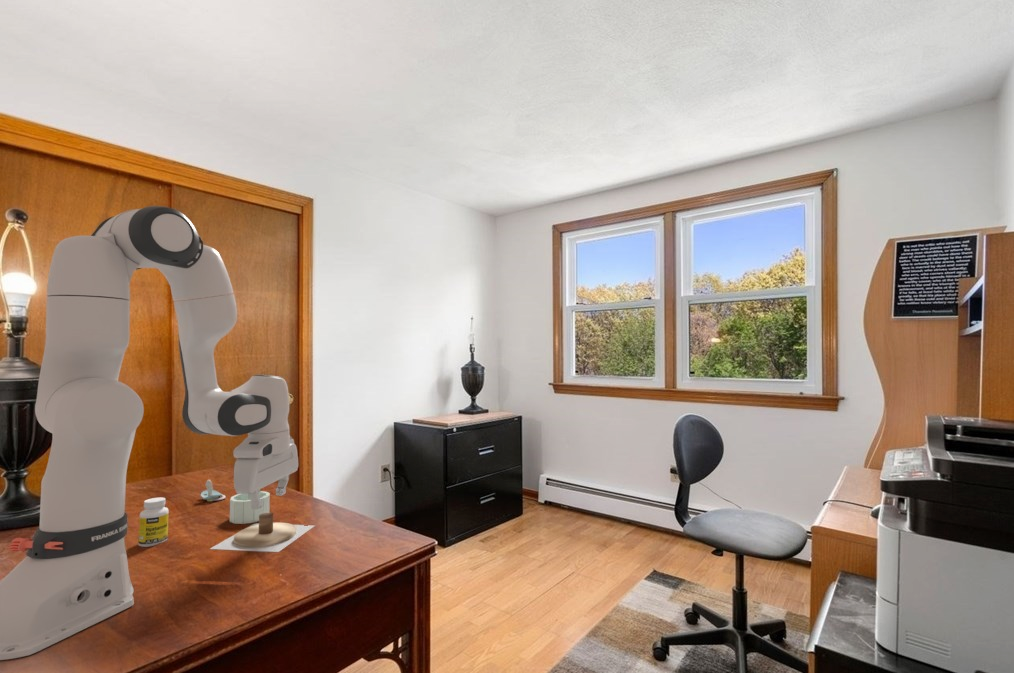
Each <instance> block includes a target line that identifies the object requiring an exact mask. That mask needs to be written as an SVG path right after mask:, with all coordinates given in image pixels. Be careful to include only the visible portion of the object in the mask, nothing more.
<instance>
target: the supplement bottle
mask: <svg viewBox="0 0 1014 673" xmlns="http://www.w3.org/2000/svg"><path fill="white" fill-rule="evenodd" d="M165 506H166V498H165V497H160V496H159V497H152V498H149V499H145V500H144V501H143V508H144V510H141V512H140V513H139V517H138V518H139V519H138V522H139V523H138V543H137V545H138V546H139V547H141V548H151V547H155V546H157V545H159V544H162V543H164V542H166V541H167V540H168V535H169V516H170V515H169V513H170V511H169V508H168V507H167V506H166V507H165Z"/></svg>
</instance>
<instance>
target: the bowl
mask: <svg viewBox="0 0 1014 673" xmlns="http://www.w3.org/2000/svg"><path fill="white" fill-rule="evenodd" d="M270 495H271V492H268V491H265V490H260V494H259V497H260V499H263V503H262V504H263V506H262V507H261V508H259V509H252V502H251V500H250V498H249V497H248V494H238V493H236V494H234V495H232V496H231V497H230V499H229V523H232V524H238V525H239V524H241V525H243V524H252V523H253V524H254V523H257V522H259V515H261V514H264V513H270Z"/></svg>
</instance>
